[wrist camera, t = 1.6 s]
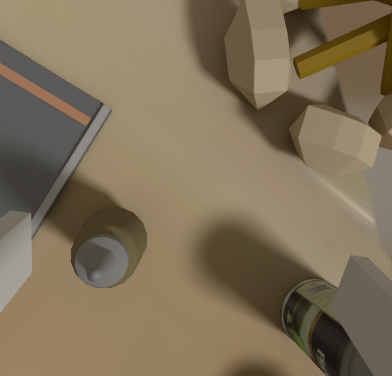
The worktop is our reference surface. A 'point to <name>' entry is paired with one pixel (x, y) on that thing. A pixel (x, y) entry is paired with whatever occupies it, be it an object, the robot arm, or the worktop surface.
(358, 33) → the campfire
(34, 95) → the track
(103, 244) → the squeeze bottle
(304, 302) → the coffee can
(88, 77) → the worktop surface
